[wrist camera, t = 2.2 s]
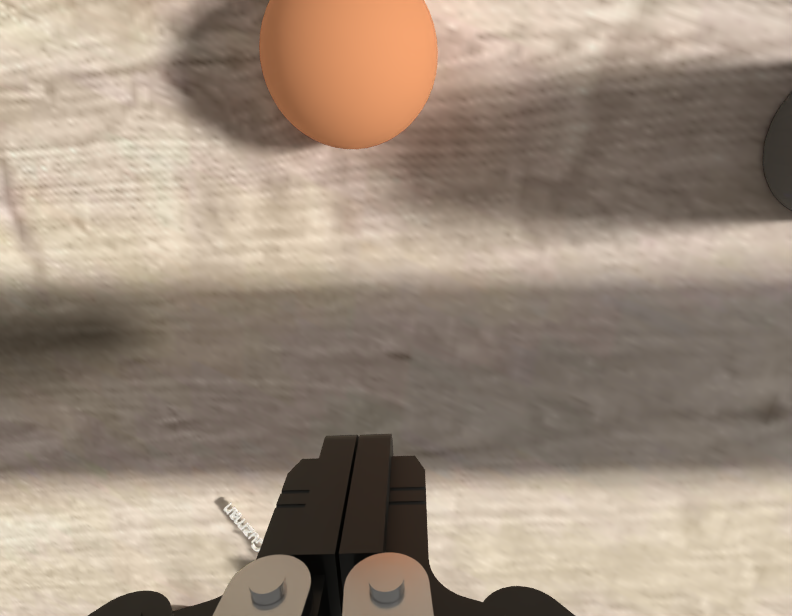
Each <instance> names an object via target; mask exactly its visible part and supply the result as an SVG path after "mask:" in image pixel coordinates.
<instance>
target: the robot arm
mask: <svg viewBox="0 0 792 616" xmlns="http://www.w3.org/2000/svg"><path fill="white" fill-rule="evenodd" d="M276 505H277V507H276V508H275V510H274V513H273V515H272V518H271V521H270V523H269V526H268V529H267V532H266V534H265V537H264V540H263V542H262V545H261V548H260V551H259V553H258V556H257V559H256V560H254V561H253V562H251V563H249V564H247V565H246V566H244V567H243V568H242V569H240V570H239V571H238V572H237V573H236V574H235V575H234V577H233V578H232V579H231V581H230V582H229V584H228V586H227V588H226V590H225V592H224V594H223V595H222V596H220V597H218V598H216V599H213V600H210V601H207V602H204V603H201V604H197V605H194V606H190V607H187V608H184V609H180V610H177V611H173V612H172V608H171V605H170V602H169V601H168V599H167V598H166V597H165V596H164V595H162V594H160V593H158V592H154V591H137V592H133V593H128V594H126V595H123V596H120V597H118V598H116V599H114V600H112V601H110V602H108V603H107V604H105V605H103V606H102V607H100V608H99V609H97V610H96V611H94V612H93V613H91V614H90V615H88V616H575V615H574V614H572V613H571V612H570V611H569V610H567V609H566V608H565V607H564V606H562V605H561V604H560V603H559V602H557V601H556V600H555V599H553V598H552V597H550V596H549V595H547V594H545V593H543V592H541V591H539V590H536V589H533V588H529V587H522V586H511V587H506V588H502V589H499V590H497V591H495V592H493V593H492V594H490V595H489V596H488V597H487V598H486V599H485V600H484V602H480V601H476V600H473V599H469V598H466V597H463V596H460V595H457V594H455V593H454V592H452V591H450V590H448V589H447V588H446V587H444V586H443V585H442V584H441V583H440V582H439V581H438V580H437V579H436V577H435V576H434V574H433V572H432V571H431V568H430V565H429V559H428V535H427V510H426V485H425V469H424V468H423V467H422V465H421V464H420V462H419V461H418V459H417V458H416V457H415V456H393V441H392V434H370V435H360V436H359V437H358V435H340V436H326V437H325V439H324V443H323V446H322V450H321V453H320V457H319V459H302V460H301V461H300V462H299V463H298V464H297V465H296V466H295V467H294V468H293V469H292V470H291V471H290V472H289V473H288V475H287V477H286V480H285V483H284V485H283V488H282V494H280V496H279V499H278V502H277V504H276Z"/></svg>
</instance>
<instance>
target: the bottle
mask: <svg viewBox="0 0 792 616" xmlns="http://www.w3.org/2000/svg"><path fill="white" fill-rule="evenodd" d="M763 167H764V173H765V177H766V180H767V183H768V186H769V187H770V189H771V191H772V193H773V194H774V196H775V197H776V198H777V199H778V200H779V202H780V203H781V204H782V205H784V206H785V207H787V208H788V209H790V210H791V211H792V93H791V94H790V95H789V96H788V98H787V99H786V100H785V101H784V103H783V104H782V105H781V107H780V108H779V110H778V111H777V113H776V115H775V117H774V118H773V121H772V123H771V125H770V128H769V131H768V134H767V137H766V139H765V145H764V156H763Z"/></svg>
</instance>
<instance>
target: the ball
mask: <svg viewBox="0 0 792 616" xmlns="http://www.w3.org/2000/svg"><path fill="white" fill-rule="evenodd" d="M259 50H260V62H261V67H262V72H263V75H264V79H265V82H266V85H267V87H268V89H269V92H270V94H271V96H272V98H273V100H274V102H275V103H276V105H277V107H278V108H279V110H280V111H281V112H282V113H283V115H284V116H285V117H286V118H287V119H288V120H289V121H290V123H291V124H292V125H293V126H295V127H296V128H297V129H298V130H300V131H301V132H302V133H304V134H305V135H307V136H308V137H310V138H312V139H314V140H316V141H318V142H320V143H323V144H325V145H329V146H332V147H336V148H343V149H361V148H368V147H372V146H376V145H379V144H381V143H384V142H386V141H388V140H390V139H392V138H393V137H395V136H397V135H398V134H400V133H401V132H402V131H403V130H405V129H406V128H407V127H408V126H409V125H410V124H411V123H412V122H413V121H414V120H415V118H416V117H417V116H418V114H419V113H420V112H421V110H422V109H423V107H424V105H425V103H426V102H427V100H428V97H429V95H430V92H431V90H432V87H433V83H434V80H435V75H436V69H437V54H438V50H437V38H436V33H435V28H434V24H433V21H432V18H431V15H430V12H429V10H428V8H427V6H426V4H425V2H424V0H270V1H269V3H268V5H267V8H266V10H265V14H264V17H263V20H262V25H261V31H260V42H259Z"/></svg>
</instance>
